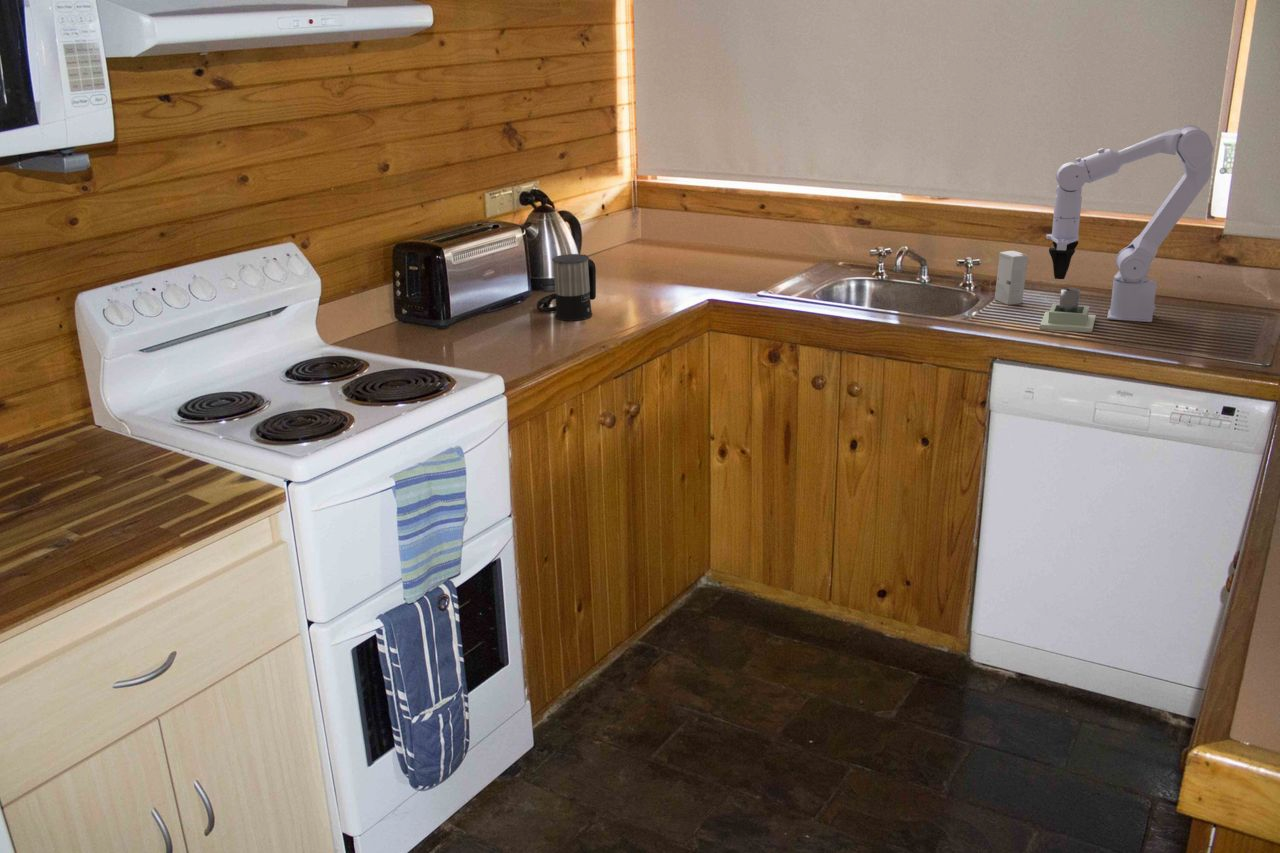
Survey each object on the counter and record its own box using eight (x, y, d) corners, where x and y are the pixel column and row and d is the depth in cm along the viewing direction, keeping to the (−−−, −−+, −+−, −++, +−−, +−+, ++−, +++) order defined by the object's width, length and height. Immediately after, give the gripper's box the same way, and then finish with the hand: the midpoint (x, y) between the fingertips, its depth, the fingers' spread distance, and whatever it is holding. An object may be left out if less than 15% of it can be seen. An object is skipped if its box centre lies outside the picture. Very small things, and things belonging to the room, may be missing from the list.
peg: (1077, 317, 259) (1080, 288, 256) (1076, 322, 255) (1078, 292, 253) (1059, 316, 260) (1061, 287, 258) (1057, 321, 257) (1060, 291, 254)
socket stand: (1095, 319, 261) (1096, 304, 260) (1091, 332, 251) (1093, 317, 250) (1045, 315, 265) (1046, 301, 264) (1039, 328, 255) (1041, 313, 254)
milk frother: (586, 322, 274) (583, 262, 269) (525, 320, 278) (520, 261, 273) (601, 307, 287) (598, 249, 282) (542, 306, 291) (538, 249, 286)
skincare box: (993, 299, 281) (997, 251, 276) (1009, 298, 282) (1013, 249, 278) (1008, 305, 275) (1012, 256, 271) (1024, 303, 276) (1028, 254, 272)
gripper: (1051, 210, 266) (1046, 267, 270) (1045, 221, 253) (1039, 280, 258) (1083, 211, 263) (1077, 269, 268) (1078, 222, 251) (1072, 282, 255)
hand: (1061, 275), depth 263 cm, fingers open, 7 cm apart
